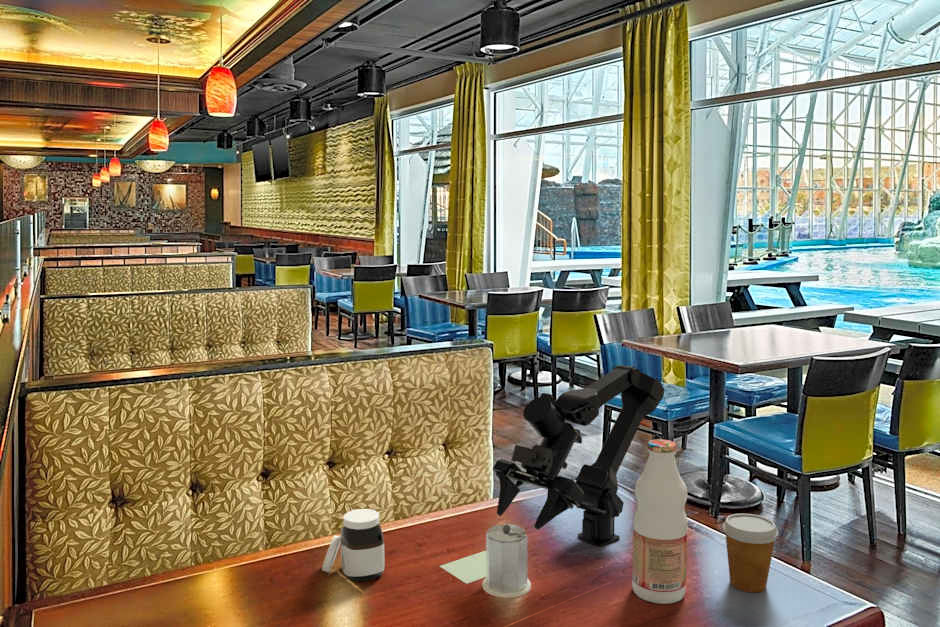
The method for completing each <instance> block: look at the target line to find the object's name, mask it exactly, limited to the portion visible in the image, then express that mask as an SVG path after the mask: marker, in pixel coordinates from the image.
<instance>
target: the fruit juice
mask: <svg viewBox="0 0 940 627" xmlns="http://www.w3.org/2000/svg"><path fill="white" fill-rule="evenodd" d="M647 452H648V453H649V455H648V458H647V460H646V463H645V467H644V469H643V471H642V473H641V475H640V476H639V477H638V479H637V480H636V482H635V486H634V495H635V499H636V504H637V505H636V508H635V510H634V513H633V519H632V520H633V522H632V523H633V524H632V525H633V527H632V529H633V530H632V571H631V572H632V577H631V578H632V579H631V584H632V590H633V592H634V595H636V596H637V597H638V598H640V599H642V600H644V601H646V602H650V603H653V604H660V605H668V604H669V605H670V604H674V603H677V602H679V601H681V600H683V598H684V597H685V593H686V585H687V584H686V583H687V552H688V551H687V548H688V546H687V545H688V544H687V543H688V518H687V513H686V511H685V506H686V502H687V500H688V489H687V484H686V483H685V481H684V479H683V477H682V476H681V474H680V472H679V470H678V466H677V462H676V458H675V454H676V453H677V444H676V442H674V441H672V440H670V439H669V440H668V439H661V438H659V439H658V438H656V439H651V440H649V441H648V443H647Z"/></svg>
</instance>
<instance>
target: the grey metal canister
mask: <svg viewBox="0 0 940 627" xmlns="http://www.w3.org/2000/svg"><path fill="white" fill-rule="evenodd" d="M485 535H486V536H485V537H486V538H485V541H486V542H485V543H486V544H485V545H486V550H485V551H486V574H487V584H488V587H489V589H491V590H494V591H497V592H500V593H515V592H520V591H521V590H522V589H524V588H525V587H526V586H527V578H528V562H527V561H528V535H527V533H526V530H525V528H523V527H521V526H519V525H516V524H509V523H508V524H507V523H504V524H497V525H494V526H491V527H490V528H489V529H488V530H487V531H486V534H485Z"/></svg>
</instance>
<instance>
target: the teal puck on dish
mask: <svg viewBox="0 0 940 627" xmlns="http://www.w3.org/2000/svg"><path fill="white" fill-rule="evenodd" d="M481 586H482V589H483V590H484V591H485V593H487V594H489V595H491V596H494V597H497V598H506V599H507V598H509V599H510V598H518V597H522V596H523V595H526V594H527V593H529V592H530V590H531V588H532V582H531V581H530V579H529V578H528V577H527V586H526V587H525V588H524V589H522V590H521V591H520V592H515V593H500V592H497V591H494V590H491V589H489V587H488V584H487V577H484V578H483V580H482V584H481Z"/></svg>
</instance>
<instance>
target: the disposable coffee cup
mask: <svg viewBox="0 0 940 627" xmlns="http://www.w3.org/2000/svg"><path fill="white" fill-rule="evenodd" d="M722 530H723V531H724V533H725V542H726V553H727V562H728V574H729V583H730V585H731V586H732V587H733V588H734V589H737V590H739V591H742V592H747V593H760V592H763V591H765V590H766V588H767V584H768V578H769V573H770V568H771V561H772V557H773V551H774V547H775V541H776V539H777V537H778V536H779V531H778V529H777V525H776V523H775V522H774V521H773V520H771V519H769V518H767V517H765V516H762V515H759V514H754V513H753V514H752V513H734V514H730V515H728V516H726V518H725V521H724V523H723V524H722Z"/></svg>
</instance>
